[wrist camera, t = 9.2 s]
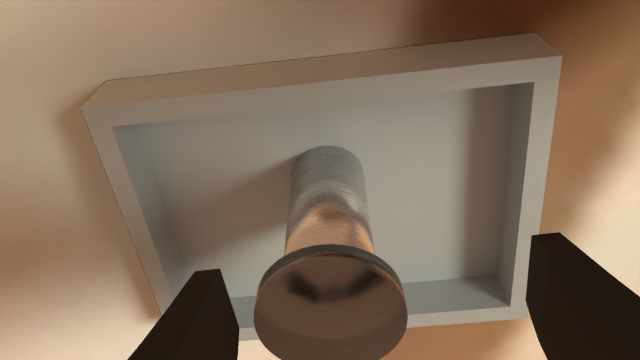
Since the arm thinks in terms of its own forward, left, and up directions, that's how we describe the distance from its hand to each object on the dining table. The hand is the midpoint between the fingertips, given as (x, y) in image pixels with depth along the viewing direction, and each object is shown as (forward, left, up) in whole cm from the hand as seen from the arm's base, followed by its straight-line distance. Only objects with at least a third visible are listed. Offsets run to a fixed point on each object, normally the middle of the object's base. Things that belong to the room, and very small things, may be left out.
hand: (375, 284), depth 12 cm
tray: (+1, +4, -10) cm, 10 cm away
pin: (+1, +3, -9) cm, 10 cm away
